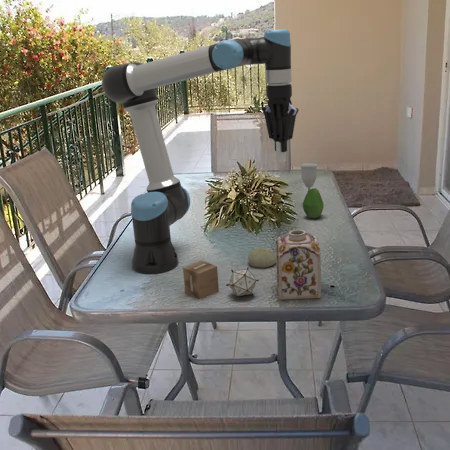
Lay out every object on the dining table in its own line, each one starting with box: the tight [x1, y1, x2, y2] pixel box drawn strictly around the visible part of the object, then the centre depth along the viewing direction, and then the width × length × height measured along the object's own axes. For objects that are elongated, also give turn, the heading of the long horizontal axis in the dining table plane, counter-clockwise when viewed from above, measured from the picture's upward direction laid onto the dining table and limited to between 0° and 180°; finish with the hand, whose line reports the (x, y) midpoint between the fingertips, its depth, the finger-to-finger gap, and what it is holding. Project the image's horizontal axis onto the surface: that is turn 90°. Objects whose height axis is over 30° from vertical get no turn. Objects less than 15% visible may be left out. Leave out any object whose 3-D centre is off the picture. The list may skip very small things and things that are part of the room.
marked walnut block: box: [182, 260, 220, 300], centre depth 170 cm, size 7×7×8 cm
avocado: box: [302, 187, 324, 219], centre depth 229 cm, size 8×8×12 cm
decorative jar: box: [275, 229, 322, 301], centre depth 165 cm, size 12×12×18 cm
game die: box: [225, 266, 260, 300], centre depth 166 cm, size 9×8×10 cm
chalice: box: [299, 163, 318, 192], centre depth 241 cm, size 7×7×18 cm
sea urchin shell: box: [247, 247, 277, 269], centre depth 188 cm, size 9×8×8 cm
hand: (281, 161), depth 181 cm, fingers closed
